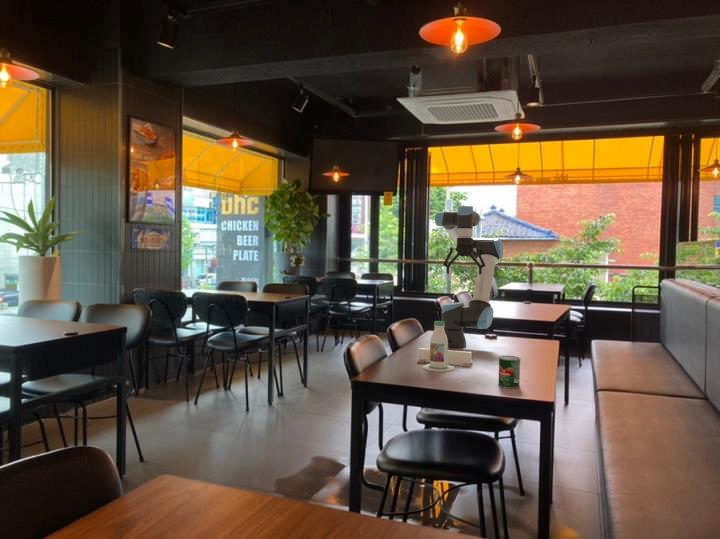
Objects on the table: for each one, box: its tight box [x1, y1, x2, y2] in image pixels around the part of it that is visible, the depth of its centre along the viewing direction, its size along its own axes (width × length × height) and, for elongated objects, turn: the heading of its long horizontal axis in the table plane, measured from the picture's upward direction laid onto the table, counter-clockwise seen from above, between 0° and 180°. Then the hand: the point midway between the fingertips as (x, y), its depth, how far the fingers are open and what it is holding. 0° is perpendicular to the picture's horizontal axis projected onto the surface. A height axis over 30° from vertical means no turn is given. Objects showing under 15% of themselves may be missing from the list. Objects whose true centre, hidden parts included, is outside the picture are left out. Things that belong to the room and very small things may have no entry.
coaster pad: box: [422, 363, 456, 373], centre depth 249 cm, size 14×14×1 cm
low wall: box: [417, 347, 473, 368], centre depth 260 cm, size 24×6×6 cm, turn 69°
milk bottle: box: [429, 320, 449, 368], centre depth 249 cm, size 8×8×20 cm
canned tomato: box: [498, 355, 521, 389], centre depth 219 cm, size 8×8×11 cm
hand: (463, 281), depth 278 cm, fingers open, 13 cm apart
